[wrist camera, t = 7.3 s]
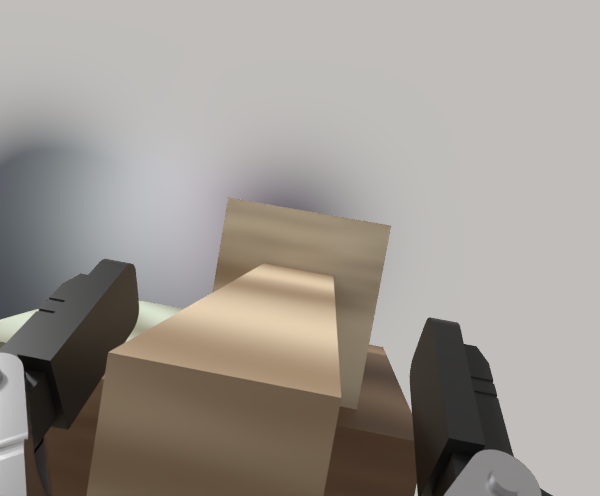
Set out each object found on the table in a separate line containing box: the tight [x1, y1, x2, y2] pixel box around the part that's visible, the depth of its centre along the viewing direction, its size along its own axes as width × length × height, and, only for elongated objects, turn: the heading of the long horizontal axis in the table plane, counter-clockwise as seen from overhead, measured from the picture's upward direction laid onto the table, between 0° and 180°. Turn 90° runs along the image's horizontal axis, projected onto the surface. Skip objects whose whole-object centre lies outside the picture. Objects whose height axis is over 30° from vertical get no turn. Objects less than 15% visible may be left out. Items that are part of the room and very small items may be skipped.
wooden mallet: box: [86, 198, 391, 496], centre depth 18 cm, size 24×7×8 cm, turn 176°
